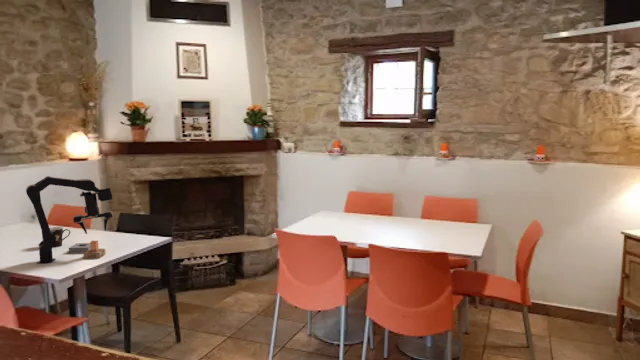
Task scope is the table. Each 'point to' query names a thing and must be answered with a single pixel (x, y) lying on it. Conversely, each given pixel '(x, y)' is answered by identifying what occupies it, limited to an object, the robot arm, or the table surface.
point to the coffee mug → (59, 235)
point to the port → (79, 248)
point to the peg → (94, 246)
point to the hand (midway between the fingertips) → (96, 232)
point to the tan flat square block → (94, 254)
